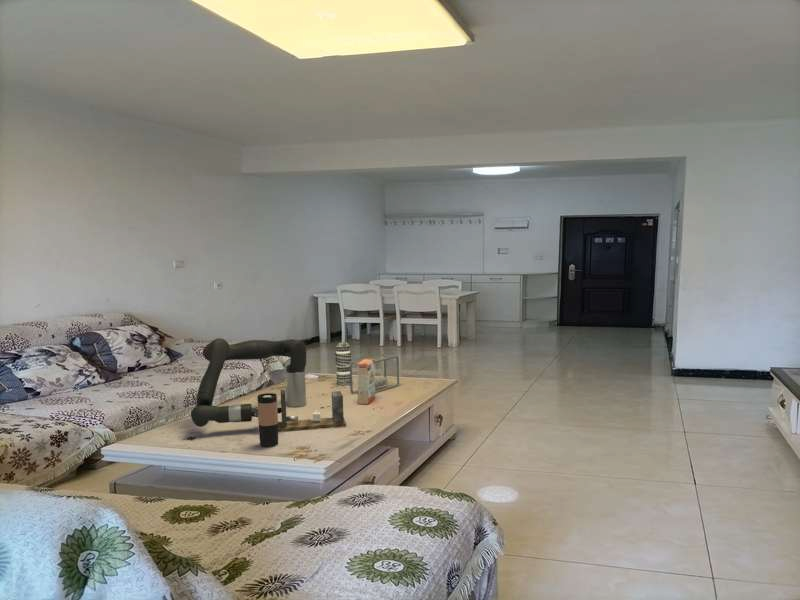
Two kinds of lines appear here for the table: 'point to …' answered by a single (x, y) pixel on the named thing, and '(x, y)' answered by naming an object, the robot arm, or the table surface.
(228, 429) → the table surface
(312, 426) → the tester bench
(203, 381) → the robot arm
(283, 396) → the brushed metal plate
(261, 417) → the travel mug
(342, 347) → the decorative candle
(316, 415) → the cream lever switch
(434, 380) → the table surface
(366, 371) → the cracker box
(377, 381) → the newton's cradle
